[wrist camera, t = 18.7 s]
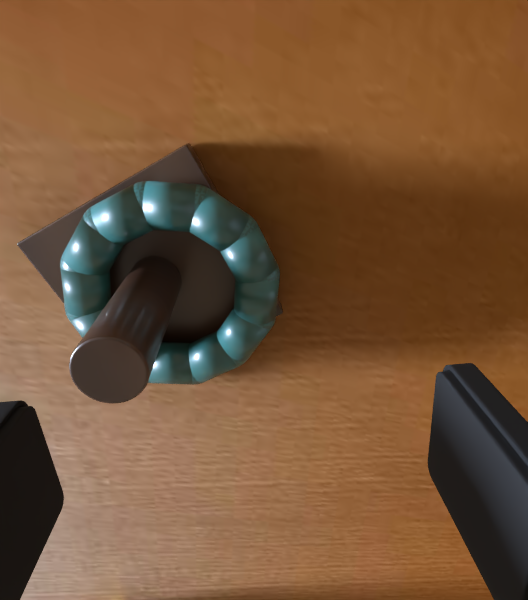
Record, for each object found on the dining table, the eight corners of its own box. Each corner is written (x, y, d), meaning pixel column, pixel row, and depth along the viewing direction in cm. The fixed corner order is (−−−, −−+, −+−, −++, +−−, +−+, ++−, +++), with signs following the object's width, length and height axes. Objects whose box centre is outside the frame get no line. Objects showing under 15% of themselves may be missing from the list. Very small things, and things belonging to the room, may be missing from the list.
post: (189, 142, 19) (149, 163, 11) (281, 303, 23) (305, 415, 14) (27, 237, 21) (-119, 321, 12) (136, 376, 24) (79, 519, 16)
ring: (217, 139, 18) (215, 142, 17) (307, 322, 22) (314, 341, 20) (28, 238, 20) (6, 251, 18) (142, 396, 23) (134, 420, 21)
